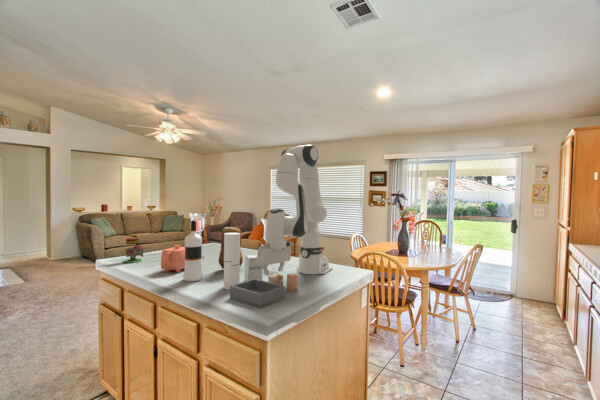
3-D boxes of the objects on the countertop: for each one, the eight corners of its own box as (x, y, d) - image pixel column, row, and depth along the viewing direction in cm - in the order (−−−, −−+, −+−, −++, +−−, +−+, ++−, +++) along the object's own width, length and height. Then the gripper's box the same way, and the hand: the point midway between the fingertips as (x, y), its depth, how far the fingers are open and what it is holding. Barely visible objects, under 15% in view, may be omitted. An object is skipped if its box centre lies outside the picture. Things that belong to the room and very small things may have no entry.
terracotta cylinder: (291, 287, 134) (291, 272, 134) (299, 290, 131) (300, 274, 131) (284, 290, 130) (284, 275, 130) (293, 292, 127) (293, 277, 127)
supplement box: (247, 284, 140) (248, 258, 140) (244, 280, 147) (244, 255, 146) (262, 282, 143) (262, 257, 143) (258, 278, 149) (258, 254, 149)
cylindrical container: (226, 284, 139) (226, 232, 138) (241, 284, 138) (241, 232, 138) (221, 289, 131) (222, 234, 131) (237, 289, 131) (237, 234, 131)
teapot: (179, 264, 179) (179, 241, 179) (198, 266, 176) (198, 242, 176) (154, 273, 157) (154, 247, 157) (175, 275, 154) (175, 248, 154)
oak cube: (275, 284, 140) (275, 273, 140) (283, 286, 137) (283, 275, 137) (268, 286, 136) (268, 276, 136) (276, 288, 133) (276, 277, 133)
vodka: (179, 281, 143) (179, 220, 143) (189, 276, 152) (190, 219, 152) (196, 282, 141) (197, 221, 141) (206, 277, 151) (206, 220, 150)
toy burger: (142, 262, 183) (142, 239, 183) (119, 263, 180) (120, 239, 179) (146, 258, 195) (146, 236, 195) (124, 260, 191) (125, 237, 191)
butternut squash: (246, 268, 171) (247, 226, 171) (236, 274, 158) (237, 228, 158) (225, 267, 174) (225, 225, 174) (213, 272, 161) (214, 227, 161)
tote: (254, 289, 131) (254, 278, 131) (284, 298, 121) (284, 286, 121) (229, 297, 120) (230, 285, 120) (260, 308, 109) (261, 294, 109)
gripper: (263, 246, 127) (262, 277, 126) (293, 242, 143) (292, 270, 142) (253, 244, 130) (252, 275, 130) (284, 241, 146) (282, 268, 146)
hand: (273, 272), depth 136 cm, fingers open, 8 cm apart
